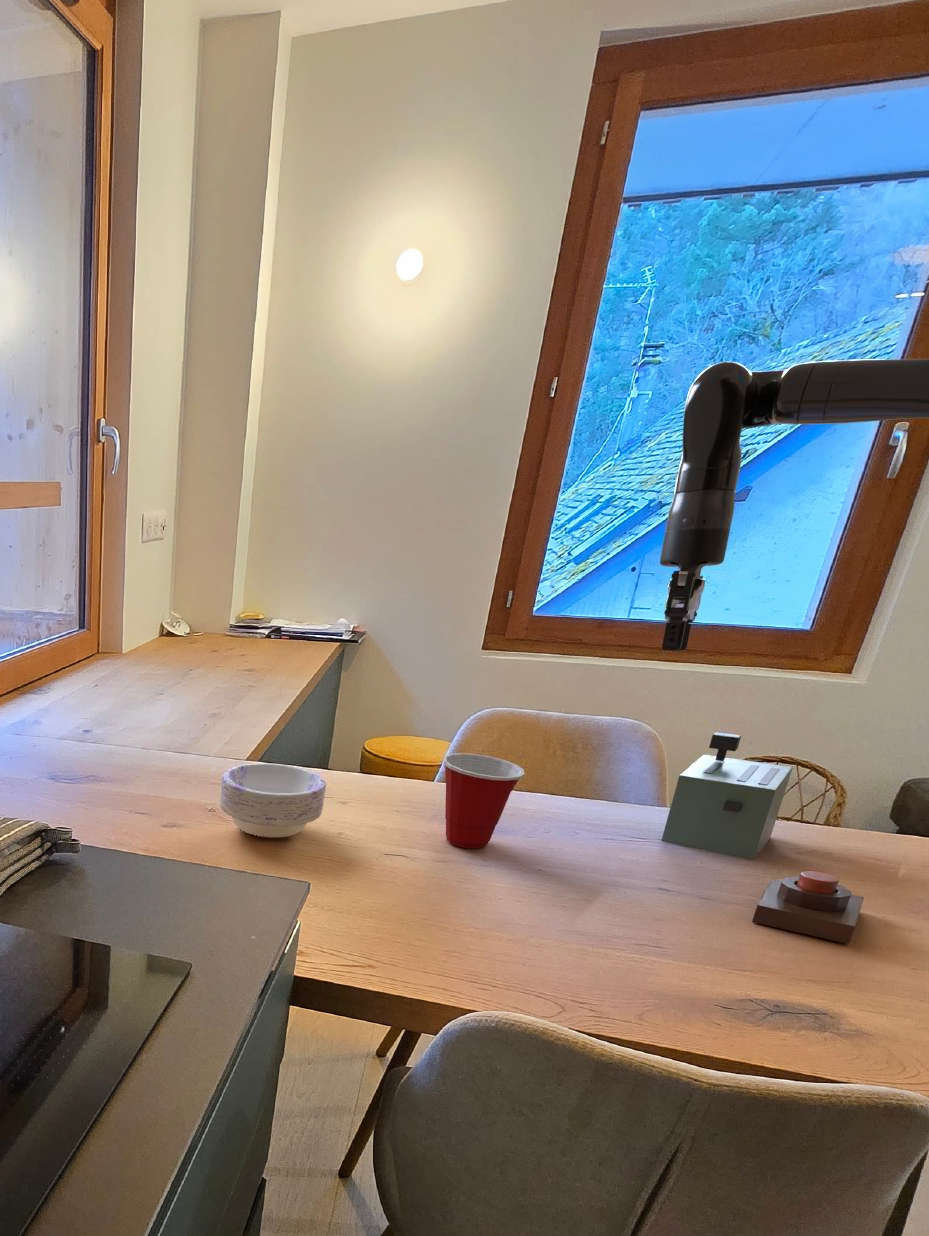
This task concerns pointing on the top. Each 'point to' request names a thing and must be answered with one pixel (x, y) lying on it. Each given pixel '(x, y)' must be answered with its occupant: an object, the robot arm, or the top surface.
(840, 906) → the box
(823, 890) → the button
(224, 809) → the paper bowls
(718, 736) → the toaster slider
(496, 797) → the plastic cup
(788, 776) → the toaster
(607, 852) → the top surface
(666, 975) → the top surface
